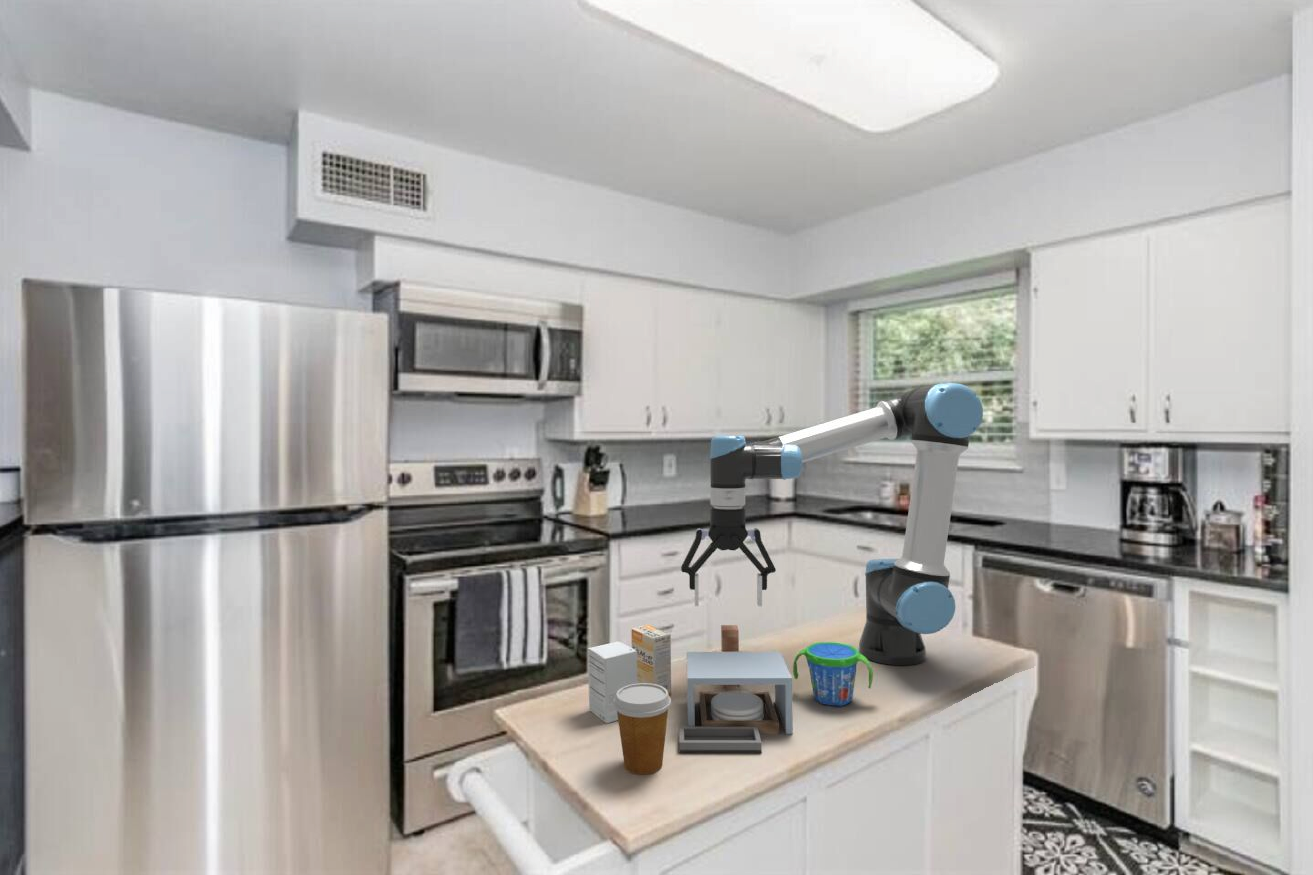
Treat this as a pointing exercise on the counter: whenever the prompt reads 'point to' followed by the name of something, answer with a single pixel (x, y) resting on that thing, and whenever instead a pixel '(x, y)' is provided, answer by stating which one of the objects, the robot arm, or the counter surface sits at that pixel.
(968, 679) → the counter surface
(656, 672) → the supplement box
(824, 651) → the snack cup
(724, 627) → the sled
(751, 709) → the round grey tin
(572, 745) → the counter surface
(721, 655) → the tunnel
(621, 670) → the supplement box
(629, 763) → the disposable coffee cup
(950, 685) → the counter surface
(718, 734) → the tray
